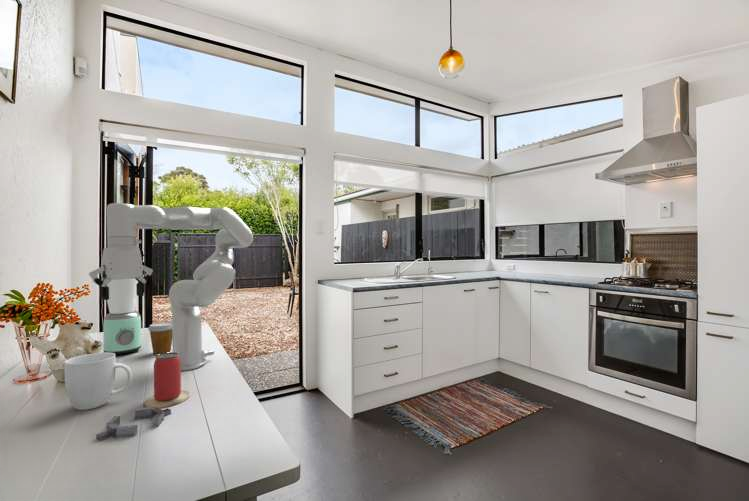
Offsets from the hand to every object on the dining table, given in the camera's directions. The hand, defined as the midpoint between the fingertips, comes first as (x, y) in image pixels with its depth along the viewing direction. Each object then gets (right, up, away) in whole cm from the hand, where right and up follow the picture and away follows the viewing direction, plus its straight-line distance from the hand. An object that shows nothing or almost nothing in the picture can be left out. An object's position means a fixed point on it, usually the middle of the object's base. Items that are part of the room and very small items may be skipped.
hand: (123, 297), depth 111 cm
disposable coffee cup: (-10, -28, +37) cm, 48 cm away
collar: (+21, -28, -26) cm, 43 cm away
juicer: (-28, -28, +39) cm, 56 cm away
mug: (+2, -28, -13) cm, 31 cm away
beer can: (+20, -27, -10) cm, 35 cm away
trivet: (+20, -28, -11) cm, 36 cm away
